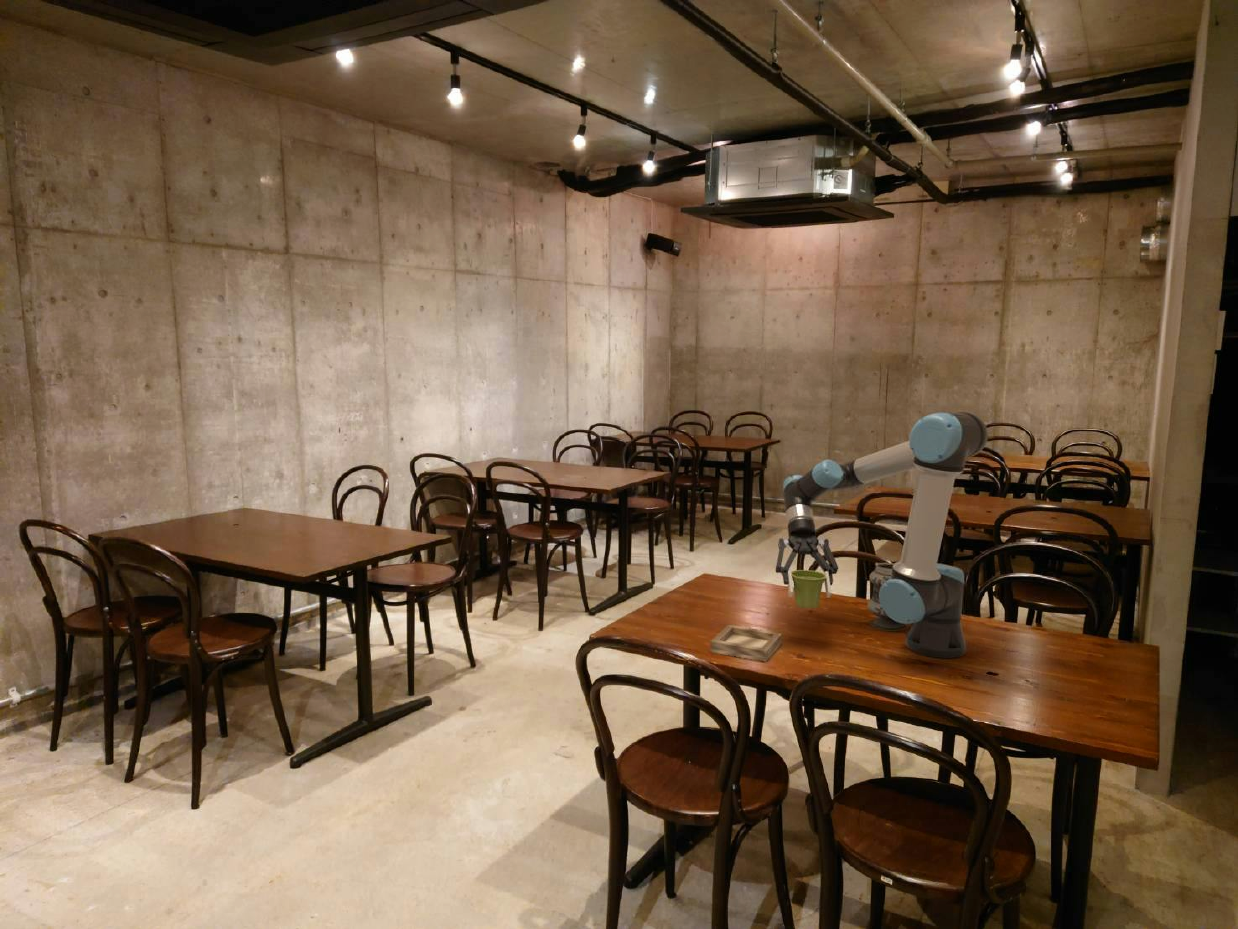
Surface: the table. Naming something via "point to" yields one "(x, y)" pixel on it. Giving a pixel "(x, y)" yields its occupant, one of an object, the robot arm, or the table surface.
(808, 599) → the plant pot
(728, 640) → the wooden tray
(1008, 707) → the table surface
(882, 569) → the apothecary jar
